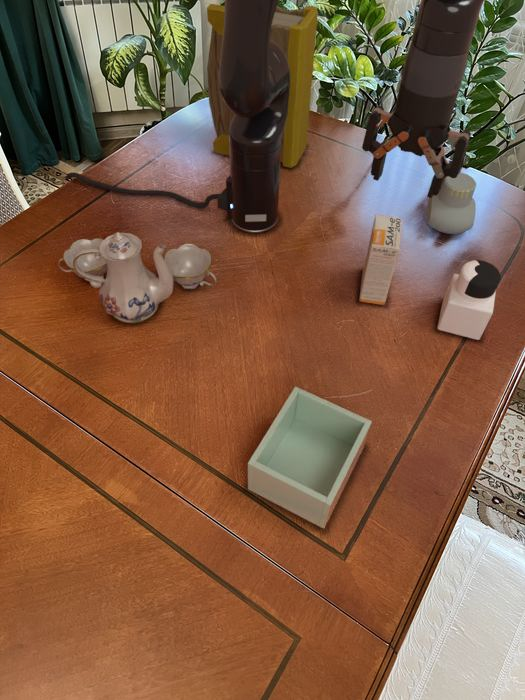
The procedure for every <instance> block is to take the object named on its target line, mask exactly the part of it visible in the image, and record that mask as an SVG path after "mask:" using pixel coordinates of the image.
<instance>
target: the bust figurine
mask: <svg viewBox="0 0 525 700" xmlns="http://www.w3.org/2000/svg"><path fill="white" fill-rule="evenodd" d="M501 280H502V275H501V272H500V270H499V269H498V268H497V266H495V265H494V264H492V263H490V262H489V261H486V260H482V259H481V260H480V259H473V260H470V261H467V262H466V263H464V264H463V266H462V267H461V270H460V272H459V273H453V275H452V277H451V279H450V281H449V284H448V287H447V289H446V292H445V294H444V297H443V300H442V304H441V308H440V312H439V318H438V322H437V330H438V331H441V332H445V333H450V334H454V335H457V336H462V337H465V338H469V339H472V340H477V341H479V340H480V339H481V338H482V336H483V333H484V331H485V330H486V328H487V326H488V324H489V322H490V320H491V318H492V316H493V314H494V309H495V308H494V307H495V301H496V300H495V299H496V293H497V289H498V286H499V284H500V283H501Z"/></svg>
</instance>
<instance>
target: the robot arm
mask: <svg viewBox="0 0 525 700" xmlns="http://www.w3.org/2000/svg"><path fill="white" fill-rule="evenodd" d="M279 2H280V0H224V6H225V18H224V31H223V40H222V50H221V59H220V68H219V86H220V91H221V95H222V97H223V100H224V102H225V103H226V105H227V107H228V108H229V109H230V110H231V111H232V112H233V113H234V114H235V115H234V117H233V119H232V121H231V124H230V127H229V152H230V156H229V175H228V176H227V177H226V179H225V188H224V189H223V190H222V191H221V192H220V193H213V194H210V195H207V196H206V197H205V199H204V201H203V202H195V201H192V200H190V199H187V198H186V197H184V196H181V195H180V194H178V193H175V192H173V191H172V192H171V191H167V190H160V189H159V190H156V189H145V190H144V189H130V188H129V189H128V188H124V187H123V188H122V187H118V186H113V185H110V184H107V183H103V182H101V181H97V180H95V179H94V180H93V179H90V178H89V177H86V176H84V175H82V174H81V173H78V172H72V171H71V172H69V173H67V174H66V175H65V178H64V179H67V180H71V179H72V178H75V179H78V180H80V181H82V182H83V183H86V184H88V185H90V186H94V187H98V188H100V189H103V190H106V191H109V192H114V193H119V194H125V195H132V196H162V197H168V198H172V199H174V200H177V201H180V202H181V203H183V204H185V205H188V206H189V207H193V208H196V209H202V208H203V209H204V208H206V207H208V206H209V204H210V202H211V201H213V200H216V201H217V209H219V210H222V211H225V212H226V219H227V221H229V222H231V224H232V225H233V226H234V227H235V228H236V229H237V230H239V231H240V232H243V233H247V234H257V235H258V234H262V233H263V234H264V233H266V232H269V231H270V230H273V228H275V227H276V226H277V224H278V221H279V200H280V199H279V198H280V197H279V196H280V180H281V179H280V178H281V177H280V176H281V162H280V160H281V140H282V133H283V130H284V127H285V124H286V120H287V112H288V102H289V91H290V67H289V63H288V60H287V57H286V55H285V53H284V51H283V50H282V49H281V47H280V46H279V45H278V44H277V43H275V42H274V41H272V40H270V32H271V26H272V22H273V18H274V14H275V11H276V8H277V6H279ZM484 2H485V0H420V3H419V5H418V9H417V13H416V18H415V23H414V26H413V27H414V28H413V32H412V37H411V41H410V44H409V47H408V50H407V54H406V56H405V59H404V64H403V66H402V69H401V78H400V83H399V87H398V92H397V96H396V102H395V104H394V105H395V106H394V111H393V113H391V112H388V111H385V109H384V106H382V105H376V107H375V108H374V109H373V110H372V111H371V113H370V115H369V117H368V120H367V125H366V129H365V132H364V133H365V134H364V137H363V142H362V144H361V145H362V146H361V148H362V150H363V151H364V152H369V153H370V154H371V155H372V163H371V168H370V175H371V176H372V179H373V180H374V181H377V182H379V180H380V178H381V177H382V175H383V172H384V168H385V165H386V164H385V163H386V159H387V154H388V153H390V152H391V151H392V150H394V149H395V148H396V147H398V148H399V149H400V151H401V152H404V153H412V154H414V155H415V156H418V157H422V156H424V157H425V159H426V162H427V163H428V166H430V167H431V168H432V170H433V173H434V175H433V177H432V179H431V183H430V185H429V189H428V192H427V196H426V197H427V198H428V199H429V198H432V197H433V196H434V195H435V196H437V195H438V193H439V192H440V190H441V189H442V186H443V183H444V180H445V177H451V178H456V177H457V176H458V174H459V173H461V170H462V168H463V166H464V162H465V159H466V155H467V151H468V147H469V143H470V140H471V136H472V133H471V131H470V130H469V129H468V130H467V129H464V130H463V131H462V132H459V131H454V130H451V126H450V123H451V119H452V116H453V112H454V109H455V106H456V103H457V99H458V96H459V92H460V89H461V86H462V82H463V79H464V76H465V73H466V69H467V64H468V58H469V52H470V48H471V45H472V41H473V38H474V35H475V31H476V28H477V25H478V21H479V18H480V14H481V9H482V7H483V4H484ZM385 124H387V125H388V127H389V130H390V133H391V134H390V135H389V136H388V137H386V139H384V140H382V141H381V142H379V141H378V140H377V138H378V136H379V130H380V128H382V127H384V125H385ZM446 141H448V142H449V143H450V148H451V150H452V151H453V156H452V160H451V163H449V161H448V160H447V158H446V155H445V148H444V146H443V144H445V143H446ZM76 177H77V178H76Z"/></svg>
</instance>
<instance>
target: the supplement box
mask: <svg viewBox="0 0 525 700" xmlns="http://www.w3.org/2000/svg"><path fill="white" fill-rule="evenodd" d="M402 230H403V218H401V217H397V216H388V215H381V214H375V216H374V219H373V224H372V228H371V233H370V237H369V238H370V239H369V241H368V246H367V250H366V257H365V261H364V265H363V269H362V274H361V282H360V291H359V298H358V299H359V300H358V302H362V303H367V304H368V303H369V304H374V305H381V306H385V304H386V301H387V298H388V294H389V290H390V288H391V284H392V280H393V277H394V272H395V270H396V269H395V268H396V265H397V262H398V259H399V254H400V251H401V241H402V232H403V231H402Z"/></svg>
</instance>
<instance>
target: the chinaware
mask: <svg viewBox="0 0 525 700" xmlns="http://www.w3.org/2000/svg"><path fill="white" fill-rule="evenodd" d="M142 245H143V243H142V240H141V239H140V238H139V236H137V235H135V234H133V233H127V232H119V231H117V232H115V233H113V234H112V235H108V236H107V237H106V238H105V239H104V238H102V237H101V238H99V237H96V238H93V239H91V240H90V239H86V238H80V239H79V238H78V239H76V240H75V241H74V242H72V244H70V247H69V248H68V249H66V250H64V251H63V253H62V255H61V258H60V259H59V260H58V263H57V266H58V269H60V271H62V272H65V273H71V272H73V273H74V274H75V275H77V276H78V277H80V278H81V279H84V280H85V281H87V282H89V284H90V286H91V287H93V288H95V289H98V288H99V291H98V296H99V298H100V300H101V302H102V307H103V310H104V312H105V313H106V314H108V315H111V316H112V317H113V318H114V319H115V320H117V321H119V322H121V323H124V324H138V323H142V322H145V321H147V320H149V319H151V318H152V317H153V316H154V315H155V314H156V312H157V311H158V309H159V305H160V303H163V302H164V301H165V300H167V299H168V298H169V297H171V295H172V294H173V292H174V291H173V290H174V285H175V284H174V283H176V284H179V285H181V286H182V287H183V289H196V288H197V287H198V286H199V285H200V286H201V287H203V286H204V285H207V286H209V287H215V286H216V284H217V282H218V281H217V277H216V274H214V273H213V272H211V271H210V270H211V267H212V252H211V251H210V250H208V249H207V248H200V247H199V246H198V245H196V244H195V243H191V242H187V243H183V244H181V245H180V246H178V247H177V248H176V247H175V248H169V249H168V250H166V248H167V245H166V244H160V245H158V246H157V247H155V248H154V250H153V252H152V259H153V263H154V266H155V269H156V272H157V275H156V274H155V273H154V272H152V271H150V270H149V269H148V268H147V267H146V266H145V264H144V263H143V261H142V260H143V259H142V255H141V250H142V248H143V246H142ZM165 250H166V251H165ZM164 251H165V253H164V255H163V252H164ZM62 261H64V264H65V265H66V266H67V268H68V269H65V268H63V267H62V266H61V264H60V263H61V262H62ZM105 274H106V277H105ZM206 276H211V278H212V279H213V281H214V282H213V283H209V282H208V281H205V277H206ZM104 277H105V278H104Z"/></svg>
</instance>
